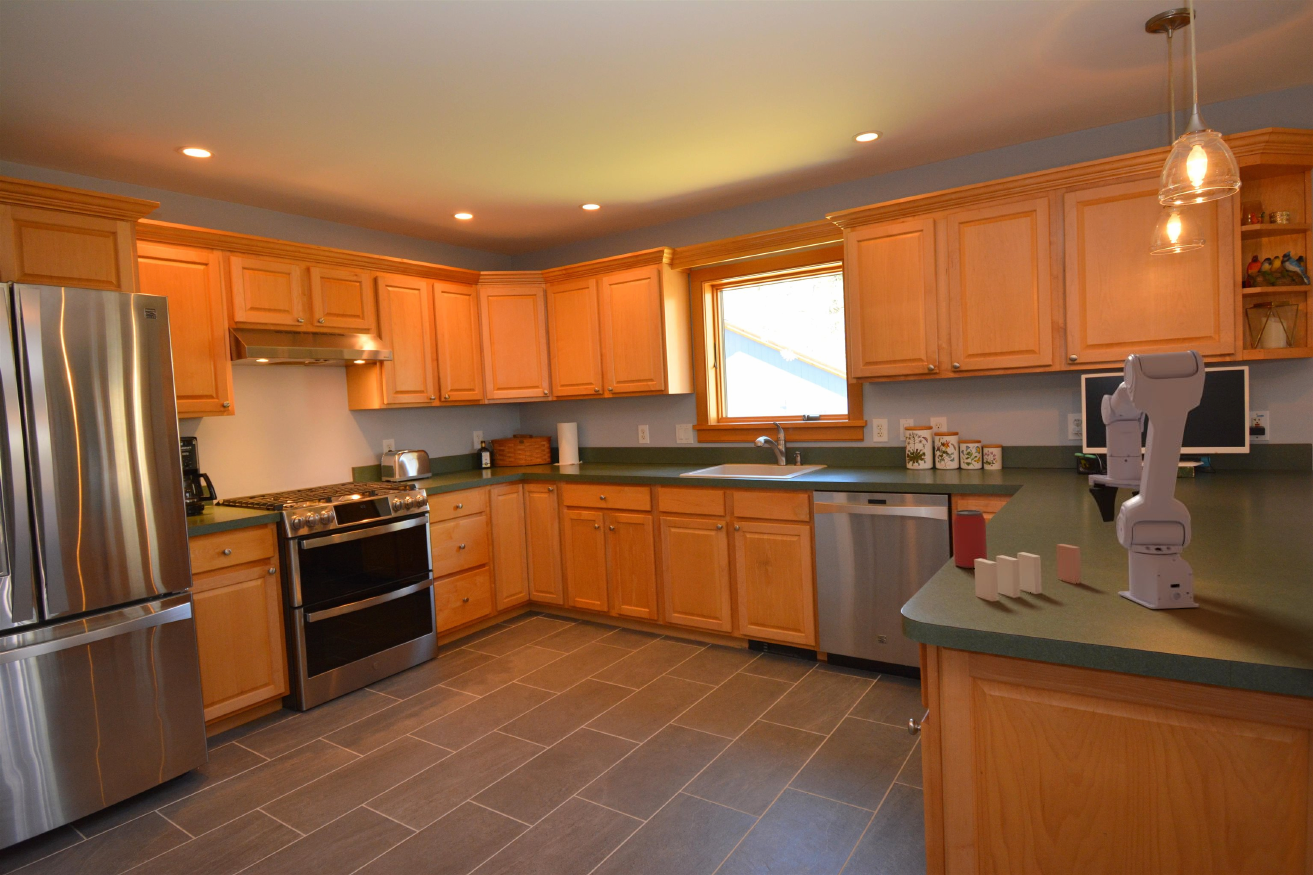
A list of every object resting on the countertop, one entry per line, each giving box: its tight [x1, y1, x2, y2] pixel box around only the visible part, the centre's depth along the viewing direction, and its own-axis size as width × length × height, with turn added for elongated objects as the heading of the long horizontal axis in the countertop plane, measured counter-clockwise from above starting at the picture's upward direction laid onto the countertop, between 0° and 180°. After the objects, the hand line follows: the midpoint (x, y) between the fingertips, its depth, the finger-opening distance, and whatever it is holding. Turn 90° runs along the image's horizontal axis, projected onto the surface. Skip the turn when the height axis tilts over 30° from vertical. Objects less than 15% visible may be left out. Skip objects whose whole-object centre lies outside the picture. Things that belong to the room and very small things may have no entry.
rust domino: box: [1056, 543, 1082, 585], centre depth 138 cm, size 2×4×7 cm, turn 17°
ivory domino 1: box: [974, 558, 999, 602], centre depth 130 cm, size 2×4×7 cm, turn 17°
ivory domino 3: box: [1016, 551, 1043, 595], centre depth 133 cm, size 2×4×7 cm, turn 17°
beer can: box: [952, 509, 988, 570], centre depth 154 cm, size 7×7×12 cm
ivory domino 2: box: [995, 555, 1021, 599], centre depth 132 cm, size 2×4×7 cm, turn 17°
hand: (1125, 524), depth 139 cm, fingers open, 7 cm apart
